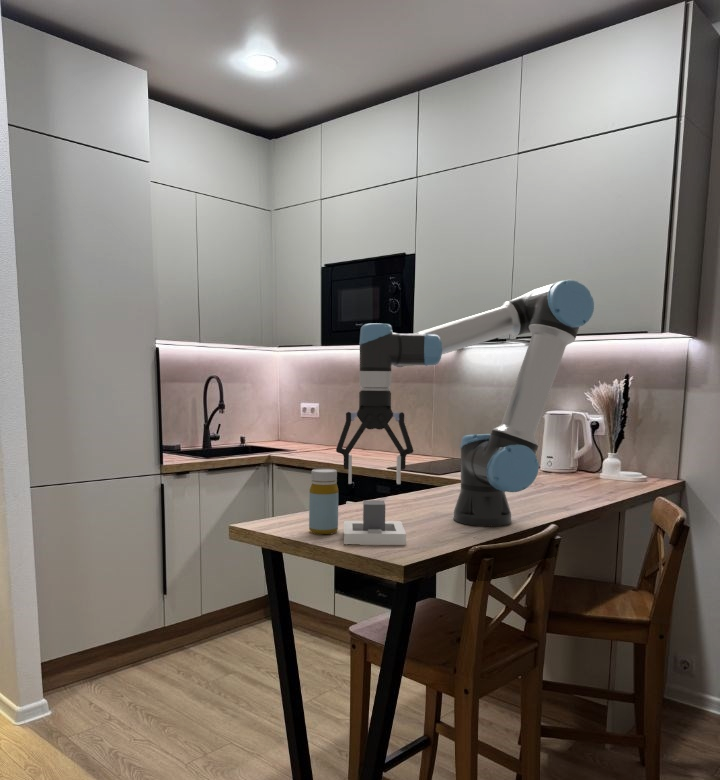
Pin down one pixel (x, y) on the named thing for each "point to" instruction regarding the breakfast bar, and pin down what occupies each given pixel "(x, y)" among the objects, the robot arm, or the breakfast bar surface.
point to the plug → (373, 515)
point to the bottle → (323, 502)
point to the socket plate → (374, 534)
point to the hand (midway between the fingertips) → (374, 483)
